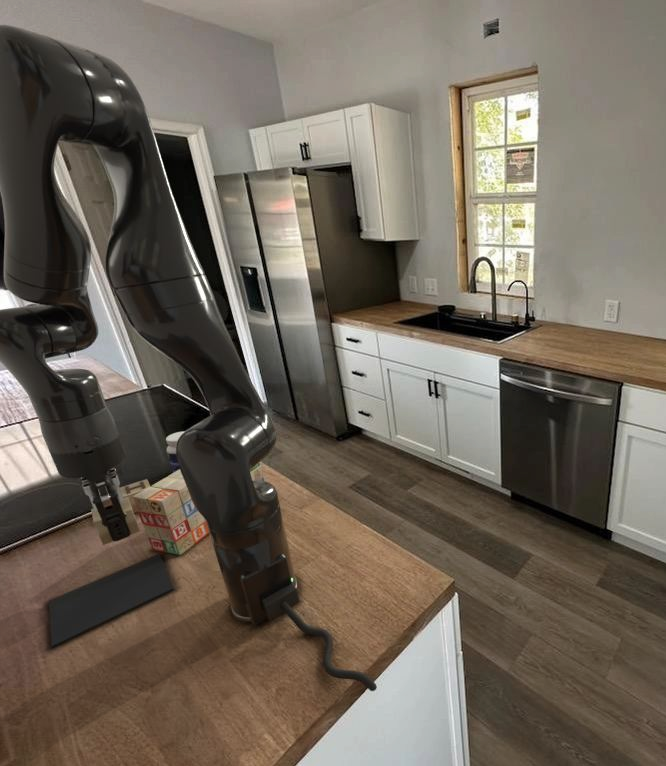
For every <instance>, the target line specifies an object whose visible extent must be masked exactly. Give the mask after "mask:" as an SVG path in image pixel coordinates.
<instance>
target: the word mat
mask: <svg viewBox="0 0 666 766" xmlns="http://www.w3.org/2000/svg"><path fill="white" fill-rule="evenodd" d="M174 590H175V589H174V586H173V583H172V581H171V579H170V576H169V574H168V570H167V568H166V565H165V563H164V560H163V557H162V555H161V553H158V554H156V555H153V556H151V557H149V558H146V559H144V560H142V561H139V562H137V563H135V564H131V565H130V566H128V567H126V568H123V569H120V570H118V571H115V572H114V573H111V574H109V575H107V576H104V577H102V578H99V579H98V580H95V581H92V582H90V583H87V584H85V585H83V586H80V587H78V588H75V589H73V590H71V591H68V592H65V593H64V594H62V595H59V596H56V597H54V598H51V599H49V600H48V603H49V604H48V605H49V607H48V609H49V626H50V643H51V644H50V646H51V648H52V649H53V648H55V647H58V646H61V645H62V644H64V643H66V642H68V641H70V640H72V639H74V638H77V637H78V636H81V635H83V634H84V633H87V632H89V631H91V630H93V629H95V628H97V627H100V626H102V625H103V624H105V623H108V622H110V621H112V620H114V619H116V618H118V617H121V616H122V615H125V614H126V613H128V612H130V611H133V610H135V609H137V608H139V607H141V606H144V605H146V604H147V603H149V602H151V601H154V600H156V599H158V598H160V597H162V596H164V595H166V594H168V593H171V592H172V591H174Z"/></svg>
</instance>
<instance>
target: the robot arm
mask: <svg viewBox="0 0 666 766" xmlns="http://www.w3.org/2000/svg"><path fill="white" fill-rule="evenodd" d="M60 142H64V143H70V144H75V145H76V144H77V145H85V146H91V147H94V149H95V151H96V152H97V154H98V156H99V159H100V160H101V163H102V165H103V167H104V170H105V173H106V175H107V178H108V181H109V184H110V187H111V190H112V195H113V202H114V205H113V216H112V222H111V227H110V231H109V235H108V240H107V245H106V250H105V251H106V252H105V258H104V259H105V260H104V269H105V274H106V278H107V281H108V283H109V285H110V287H111V289H112V292H113V294H114V295H115V298H116V299H117V302H118V304H119V305H120V308H121V309H122V311H123V312H122V313H124V315H125V318H126V320H127V322H128V323H129V325H130V326H131V328H132V329H133V330H134V332H135V333H136V334H137V335H138V336H139V337H140V338H141V339H142V340H143V341H145V342H146V343H147V344H148V345H149V346H151V347H152V348H153V349H155V350H156V351H157V352H158V353H160V354H161V355H162V356H164V357H166V358H167V359H168V360H170V361H171V362H172V363H174V364H175V365H177V366H178V367H179V368H180V369H182V370H183V371H184V372H185V373H186V374H187V375H189V377H190V378H191V379H192V380H193V382H194V383H195V385H196V386H197V388H198V389H199V391H200V393H201V395H202V397H203V399H204V401H205V404H206V406H207V409H208V412H209V416H207V417H206V418H204V419H202V420H200V421H199V422H198V423H196V424H194V425H192V426H191V427H188V428H187V429H186V430H185V432H184V433H183V434H182V435H181V436H180V437H179V439H178V441H177V445H176V457H177V462H178V465H179V468H180V471H181V474H182V476H183V479H184V481H185V484H186V486H187V489H188V491H189V494H190V497H191V499H192V502H193V504H194V506H195V507H196V509H197V510H198V512H199V513H200V514H201V515H202V516H203V517H204V518H205V520H206V523H207V526H208V529H209V536H210V538H211V542H212V546H213V548H214V553H215V555H216V559H217V563H218V566H219V570H220V573H221V576H222V580H223V583H224V587H225V590H226V593H227V596H228V600H229V603H230V609H231V612H232V616H234V618H235V619H236V620H238V621H240V622H244V623H252V625H253V626H254V627H257V626H259V625H260V624H262V623H264V622H265V621H267V620H268V621H271V620H272V619H274V618H275V617H277V616H279V615H280V614H283V613H285V614H286V615H287V617H288V618H289V619H290V620H291V621H292V622H293V623H294V624H295V626H296V627H297V628H298V629H299V630H300V631H302V633H305V634H306V635H309V636H315V637H320V638H322V639H323V640H324V642H325V647H324V653H323V657H322V666H323V669H324V671H325V672H326V673H327V674H328V675H329V676H331V677H333V678H336V679H342V680H353V681H358V682H360V683H361V684H363V685H364V686H365V687H366V688H367V689H368V690H369V691H370V692H375V691H376V690H377V684H376V683H375V681H374V680H373V678H371V676H368V675H367V674H366V673H364V672H361V671H359V670H358V671H357V670H348V669H347V670H346V669H341V668H336V667H335V666H333V664H332V662H331V657H332V651H333V646H334V645H333V644H334V641H333V636H332V635H331V634H330V633H329V632H328V631H327V630H326V629H323V628H317V627H312V626H310V625H308V624H307V623H306V622H305V621H303V619H302V618H301V617H300V616H299V614H297V612H296V611H295V610H294V609H293V608H292V607H294V606H296V605H297V604H299V603H300V598H299V597H300V596H299V592H298V587H299V586H298V584H299V583H298V580H297V577H296V575H295V569H294V565H293V561H292V556H291V551H290V546H289V542H288V538H287V533H286V527H285V523H284V519H283V513H282V509H281V504H280V499H279V495H278V491H277V488H276V486H274V485H273V484H272V483H270V482H268V481H265V480H264V481H256V480H255V481H252V478H251V474H250V471H251V470H252V469H253V468H254V467H255V466H256V465H257V464H258V463H260V464H261V462H262V461H263V460H264V459H266V457H267V456H269V455H270V454H271V452H272V451H273V449H274V448H275V446H276V442H277V430H276V426H275V424H274V421H273V420H272V417H271V414H270V413H269V411H268V409H267V407H266V406H265V403H264V402H263V400H262V398H261V396H260V394H259V393H258V391H257V389H256V387H255V385H254V384H253V381H252V380H251V378H250V377H249V374H248V373H247V371H246V369H245V366H244V365H243V362H242V360H241V357H240V356H239V353H238V351H237V349H236V346H235V344H234V342H233V340H232V338H231V335H230V333H229V331H228V329H227V326H226V324H225V322H224V320H223V317H222V314H221V311H220V309H219V306H218V303H217V300H216V298H215V295H214V293H213V290H212V288H211V285H210V283H209V280H208V278H207V275H206V273H205V271H204V268H203V266H202V265H201V262H200V260H199V258H198V255H197V253H196V251H195V249H194V246H193V244H192V242H191V239H190V236H189V234H188V231H187V229H186V226H185V223H184V220H183V218H182V215H181V213H180V209H179V208H178V205H177V203H176V199H175V196H174V194H173V191H172V187H171V184H170V181H169V178H168V175H167V171H166V168H165V165H164V162H163V159H162V155H161V152H160V148H159V145H158V142H157V138H156V135H155V132H154V128H153V125H152V122H151V119H150V116H149V113H148V111H147V108H146V105H145V102H144V100H143V98H142V95H141V93H140V91H139V90H138V88H137V86H136V84H135V83H134V81H133V80H132V78H131V77H130V75H129V74H128V73H127V72H126V71H125V70H124V69H123V67H122V66H120V65H119V64H118V63H117V62H115V60H112V59H111V58H109V57H107V56H105V55H103V54H100V53H98V52H96V51H94V50H90V49H86V48H84V47H81V46H78V45H75V44H72V43H68V42H66V41H63V40H59V39H56V38H54V37H50V36H47V35H44V34H40V33H37V32H34V31H31V30H27V29H25V28H21V27H18V26H13V25H10V24H0V197H1V202H2V208H3V218H4V248H3V249H4V250H3V282H4V285H5V287H6V289H7V290H8V292H10V293H11V294H12V295H13V296H15V297H17V298H18V299H20V300H23V301H25V302H29V303H32V304H33V305H25V306H18V307H10V308H3V309H0V364H2V365H3V366H4V367H5V368H6V370H7V371H8V372H9V373H10V374H11V376H12V377H13V378H14V379H15V380H16V381H17V382H18V384H19V385H20V386H21V387H22V388H23V390H24V391H25V393H26V394H27V395H28V398H29V401H30V404H31V406H32V408H33V411H34V412H35V415H36V417H37V419H38V422H39V426H40V432H41V435H42V438H43V440H44V442H45V445H46V447H47V449H48V452H49V454H50V457H51V458H52V462H53V463H54V465H55V468H56V471H57V473H58V475H59V476H61V478H62V477H63V478H66V479H79V478H80V481H81V483H82V484H81V486H82V490H83V492H84V494H85V495H86V496H88V498H89V501H90V503H91V506H92V509H94V511H97V512H98V513H99V515H100V517H101V519H102V525H104V526H105V527H106V526H107V528H108V531H109V533H110V536H111V538H112V541H113V542H118V541H121V540H124V539H126V538H129V537H131V536H132V535H131V533H130V530H129V527H128V525H127V522H126V518H125V517H126V513H125V512H123V509H122V506H121V504H122V503H123V502H124V499H123V496H122V493H121V491H120V488H121V486H120V485H121V481H120V478H119V476H118V473H117V470H116V467H118V466H120V465H121V464H122V463H124V461H125V460H126V459H127V452H126V449H125V447H124V443H123V440H122V439H121V435H120V432H119V430H118V427H117V424H116V421H115V418H114V417H113V414H112V412H111V411H110V409H109V407H108V404H107V402H106V400H105V397H104V394H103V391H102V387H101V386H100V383H99V380H98V378H97V376H96V374H94V372H92V371H91V370H89V369H84V368H63V369H62V368H61V369H53V368H52V367H50V366H49V365H48V363H47V361H46V359H50V358H55V357H60V356H63V355H68V354H73V353H76V352H77V353H78V352H81V351H84V350H86V349H88V348H90V347H91V346H92V345H93V344H94V343H95V342H96V340H97V339H98V335H99V326H98V322H97V319H96V317H95V313H94V311H93V307H92V304H91V303H92V302H91V299H90V296H89V295H90V294H89V290H88V284H89V283H88V282H89V275H90V269H91V261H92V245H91V240H90V236H89V235H88V234H89V233H88V232H87V229H86V227H85V226H84V224H83V222H82V220H81V219H80V218H79V216H78V215H77V213H76V212H75V210H74V209H73V207H72V206H71V204H70V203H69V202H68V200H67V198H66V197H65V195H64V193H63V192H62V189H61V188H60V186H59V184H58V181H57V178H56V174H55V162H56V154H57V149H58V146H59V143H60Z"/></svg>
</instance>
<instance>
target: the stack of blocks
mask: <svg viewBox="0 0 666 766" xmlns="http://www.w3.org/2000/svg"><path fill="white" fill-rule="evenodd" d="M263 473H264V472H263V469H262V465H261V462H260V463H258V464H257V465H256V466H255V467H254V468H253V469H252V470H251V471H250V474H251V478H252V481H255V480H256V481H265V478H264V474H263ZM133 498H134V501H135V503H136V506H137V508H138V512H137V514H138V516H139V519H140V521H141V524H142V525H143V528H144V530H145V533H146V535H147V538H148V540H149V543H150V547H151V549H152V550H153V551H156V552H161V553H168V554H172V555H177V556H181V555H183V554H184V553H185V552H186V551H188V550H189V549H190V548H192V547H193V546H194V545H195V544H197V543H198V542H199V541H201V540H203V538H204V537H206V536H207V535H209V534H210V532H209V529H208V526H207V523H206V520H205V518H204V517H203V516H202V515H201V514H200V513H199V512H198V510H197V509H196V507H195V506H194V504H193V502H192V499H191V497H190V494H189V491H188V489H187V486H186V484H185V481H184V479H183V476H182V474H181V471H180V469H179V470H177V471H176V472H174V473H173V472H172V473H171V474H169V475H168V476H166V477H164V478H162V479H160V480H159V481H157V482H155V483H153V484H152V485H150V487H148V488H147V489H145V490H143V491H141V492H140V493H138V494H136V495H135V496H133Z"/></svg>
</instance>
